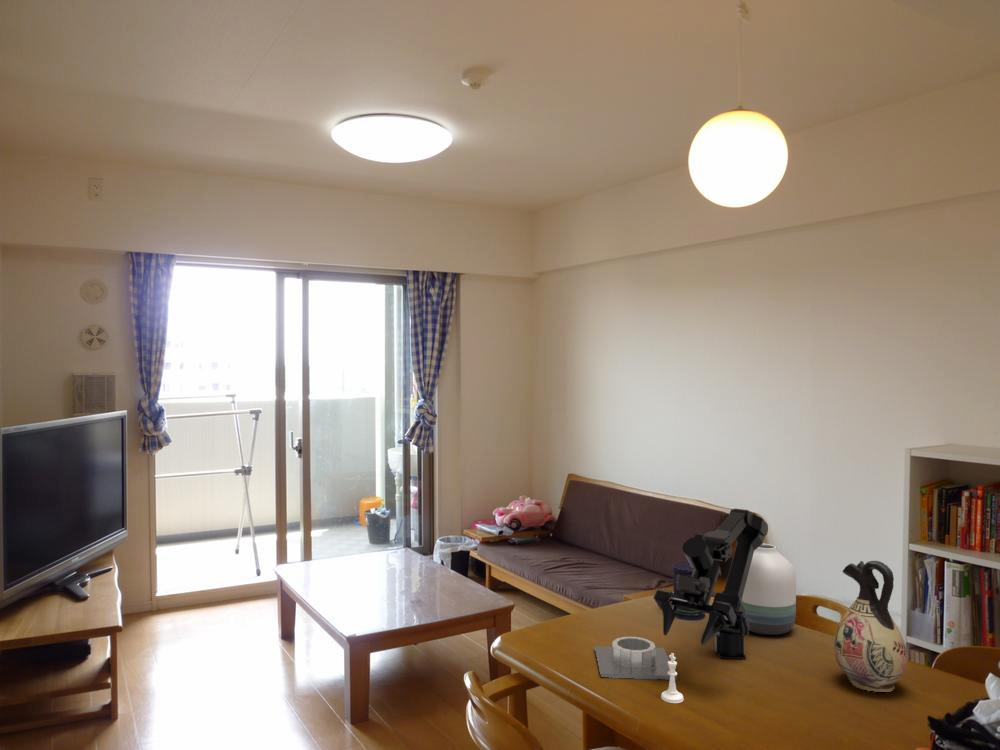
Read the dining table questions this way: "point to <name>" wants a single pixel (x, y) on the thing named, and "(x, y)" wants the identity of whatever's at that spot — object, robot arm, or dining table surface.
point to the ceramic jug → (870, 633)
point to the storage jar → (686, 571)
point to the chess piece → (672, 684)
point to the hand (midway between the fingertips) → (683, 639)
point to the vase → (770, 592)
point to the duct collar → (633, 659)
